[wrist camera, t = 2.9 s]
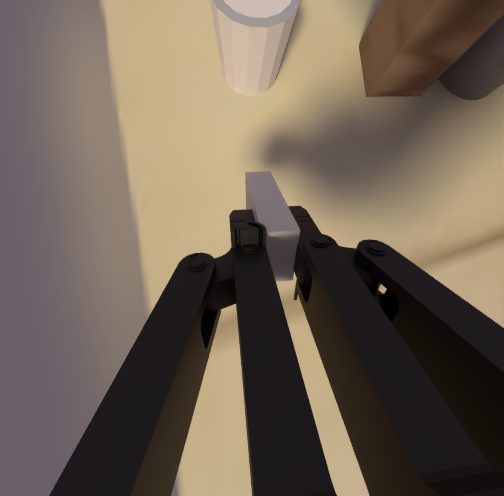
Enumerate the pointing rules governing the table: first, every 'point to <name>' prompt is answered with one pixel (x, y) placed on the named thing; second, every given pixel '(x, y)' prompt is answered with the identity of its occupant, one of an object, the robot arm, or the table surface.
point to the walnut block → (420, 42)
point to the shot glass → (252, 40)
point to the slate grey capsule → (478, 66)
